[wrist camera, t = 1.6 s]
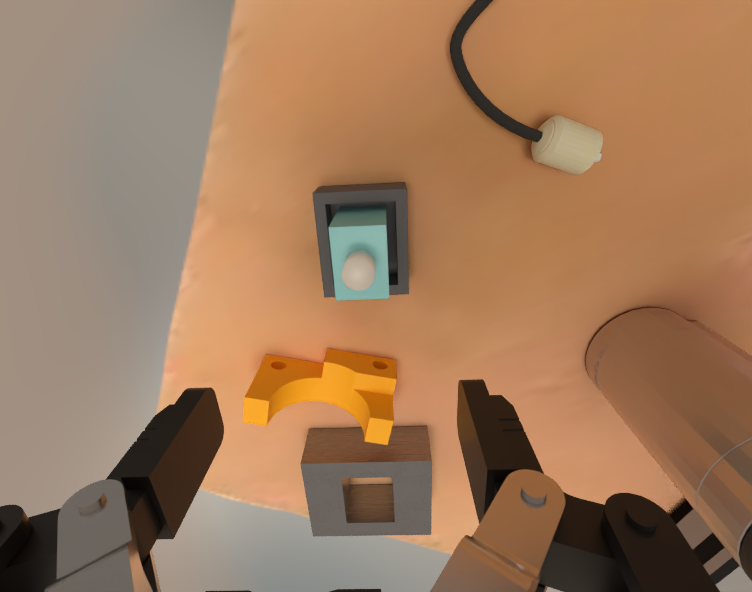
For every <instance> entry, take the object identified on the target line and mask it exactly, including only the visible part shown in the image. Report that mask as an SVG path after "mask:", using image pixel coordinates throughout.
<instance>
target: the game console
mask: <svg viewBox="0 0 752 592" xmlns="http://www.w3.org/2000/svg"><path fill="white" fill-rule="evenodd" d="M670 517H671V518H672V519H673V521H674V522H675V524H676V525H677V527H678V528H679V530H680V531H681V533H682V534H683V536H684V537H685V539H686V540H687V542H688V543H689V545H690V546H691V548H692V550H693V551H694V553H695V554H696V556H697V557H698V559H699V560H700V562H701V563H702V565H703V566H704V568H705V569H706V571H707V572H708V574H709V575H710V577H711V578H712V580H713V582H714V583H715V585H716V586H717V588H718V589H719V591H720V592H752V581H751V580H750V578H749V577H748V576H747V575H746V573H745V572H744V571H743V569H742V568H741V567H740V566H739V564H738V563H737V562H736V561H735V559H734V558H733V557H732V556H731V554H730V553H729V552H728V551H727V549H726V548H725V547H724V546H723V544H722V543H721V542H720V541H719V539H718V538H717V537H716V536H715V534H714V533H713V532H712V531H711V529H710V528H709V527H708V526H707V524H706V523H705V522H704V521H703V520H702V518H701V517H700V516H699V515H698V513H697V512H696V511H695V510H694V508H693V507H692V506H691V505H690V503H689V502H688V501H687V500H686V501H685V502H684V503H683V504H682V505H681V506H680V507H679V508H678V509H677V510H676V511H675V512H674V513H672V514H671V515H670Z"/></svg>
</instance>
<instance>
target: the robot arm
mask: <svg viewBox="0 0 752 592" xmlns="http://www.w3.org/2000/svg"><path fill="white" fill-rule="evenodd" d="M586 368H587V373H588V375H589V376H590V378H591V380H592V381H593V383H594V384H595V385H596V386H597V388H598V389H599V390H600V391H601V393H602V394H603V395H604V396H605V398H606V399H607V400H608V401H609V403H610V404H611V405H612V407H613V408H614V409H615V410H616V412H617V413H618V414H619V415H620V417H621V418H622V419H623V420H624V422H625V423H626V424H627V425H628V427H629V428H630V429H631V430H632V432H633V433H634V434H635V436H636V437H637V438H638V439H639V441H640V442H641V443H642V444H643V446H644V447H645V448H646V449H647V451H648V452H649V453H650V454H651V456H652V457H653V458H654V459H655V461H656V462H657V463H658V464H659V466H660V467H661V468H662V469H663V471H664V472H665V473H666V474H667V476H668V477H669V478H670V479H671V481H672V482H673V483H674V484H675V486H676V487H677V488H678V489H679V491H680V492H681V493H682V494H683V496H684V497H685V498H686V499H687V501H688V502H689V503H690V505H691V506H692V507H693V508H694V510H695V511H696V512H697V513H698V515H699V516H700V517H701V518H702V520H703V521H704V522H705V523H706V524H707V526H708V527H709V528H710V529H711V531H712V532H713V533H714V534H715V536H716V537H717V538H718V539H719V541H720V542H721V543H722V544H723V546H724V547H725V548H726V549H727V551H728V552H729V553H730V554H731V556H732V557H733V558H734V559H735V561H736V562H737V563H738V564H739V566H740V567H741V568H742V569H743V571H744V572H745V573H746V575H747V576H748V577H749V578H750V580H751V581H752V356H751V355H750V354H748V353H746V352H745V351H743V350H742V349H740V348H739V347H737V346H736V345H734V344H732V343H731V342H729V341H728V340H726V339H725V338H723V337H722V336H720V335H718V334H717V333H715V332H714V331H712V330H711V329H709V328H707V327H706V326H704V325H703V324H701V323H700V322H698V321H687V320H685V319H684V318H682V317H681V316H679V315H678V314H676V313H674V312H672V311H669V310H667V309H661V308H642V309H637V310H633V311H630V312H627V313H625V314H622V315H620V316H618V317H617V318H615V319H613V320H612V321H610V322H609V323H608V324H606V325H605V326H604V327H603V328H602V329H601V330H600V331H599V332H598V333H597V334H596V336H595V337H594V338H593V340H592V342H591V344H590V345H589V348H588V351H587V354H586ZM457 427H458V435H459V440H460V444H461V449H462V453H463V457H464V461H465V465H466V470H467V474H468V478H469V482H470V487H471V491H472V495H473V499H474V503H475V508H476V512H477V516H478V520H479V526H478V528H477V529H476V531H475V533H474V534H473V536H472V537H470V536H468V535H466V536H465V537H463V539H462V540H461V541H460V543H459V544H458V546H457V547H456V549H455V551H454V552H453V554H452V556H451V557H450V559H449V561H448V562H447V564H446V566H445V568H444V569H443V571H442V573H441V574H440V576H439V578H438V579H437V581H436V583H435V585H434V586H433V588H432V589H431V591H430V592H546V590H547V587H551V588H554V589H557V590H560V591H563V592H720V591H719V589H718V588H717V586H716V585H715V583H714V582H713V580H712V578H711V577H710V575H709V574H708V572H707V571H706V569H705V568H704V566H703V565H702V563H701V562H700V560H699V559H698V557H697V556H696V554H695V553H694V551H693V550H692V548H691V546H690V545H689V543H688V542H687V540H686V539H685V537H684V536H683V534H682V533H681V531H680V530H679V528H678V527H677V525H676V524H675V522H674V521H673V519H672V518H671V517H670V515H669V514H668V513H667V512H666V511H665V510H663V509H662V508H661V507H660V506H658V505H657V504H655V503H654V502H652V501H650V500H648V499H646V498H644V497H642V496H639V495H635V494H631V493H618V494H614V495H612V496H611V497H609V498H608V499H607V501H606V503H605V505H603V504H599V503H595V502H591V501H587V500H583V499H579V498H576V497H573V496H571V495H568V494H566V493H564V492H563V491H562V489H561V488H560V486H559V485H558V484H557V483H556V482H555V481H554V480H553V479H551V478H550V477H548V476H547V475H545V474H544V473H543V471H542V469H541V466H540V464H539V462H538V460H537V458H536V455H535V453H534V451H533V449H532V446H531V444H530V442H529V440H528V438H527V435H526V433H525V432H524V429H523V427H522V424H521V422H520V421H519V418H518V416H517V413H516V411H515V409H514V407H513V405H512V404H510V403H509V402H508V401H507V400H506V399H505V398H504V397H503V396H502V395H489V393H488V390H487V388H486V385H485V382H484V380H482V379H481V380H459V385H458V408H457ZM223 434H224V425H223V421H222V417H221V413H220V410H219V406H218V402H217V399H216V395H215V392H214V390H213V389H212V388H188V389H186V390H185V391H184V392H183V393H182V395H181V396H180V397H179V399H178V400H177V402H176V403H175V404H174V405H169V406H167V407H166V408H165V409H163V410H162V411H161V412H159V413H158V414H157V415H155V417H154V418H153V419H152V420H151V422H150V423H149V424H148V425H147V427H146V428H145V431H143V432H142V433H141V435H140V436H139V437H138V438H137V442H134V444H133V445H132V446H131V447H130V449H129V450H128V451H127V453H126V454H125V455H124V457H123V458H122V459H121V460H120V462H119V463H118V464H117V466H116V467H115V468H114V469H113V471H112V472H111V473H110V475H109V476H108V477H107V479H106V480H101V481H98V482H95V483H92V484H90V485H88V486H86V487H84V488H83V489H81V490H79V491H78V492H76V493H75V494H74V495H73V496H71V497H70V498H69V499H68V500H67V501H66V502H65V504H64V505H63V506H62V508H61V509H57V510H54V511H50V512H47V513H43V514H40V515H36V516H32V517H29V518H28V517H27V516H26V514H25V512H24V511H23V509H22V508H21V507H19V506H17V505H5V506H1V507H0V592H161V590H160V585H159V580H158V575H157V571H156V566H155V561H154V556H153V554H152V551H151V549H152V547H153V545H154V543H155V541H156V539H173V538H174V537H175V535H176V533H177V531H178V529H179V527H180V525H181V523H182V521H183V519H184V517H185V515H186V513H187V511H188V509H189V507H190V505H191V503H192V501H193V499H194V497H195V495H196V493H197V491H198V489H199V487H200V485H201V483H202V481H203V479H204V477H205V475H206V473H207V471H208V469H209V467H210V465H211V463H212V461H213V459H214V457H215V455H216V453H217V451H218V449H219V447H220V445H221V443H222V440H223ZM206 592H251V591H206ZM331 592H381V589H341V590H340V589H339V590H334V591H331Z"/></svg>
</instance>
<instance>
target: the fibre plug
mask: <svg viewBox="0 0 752 592" xmlns="http://www.w3.org/2000/svg"><path fill="white" fill-rule="evenodd" d="M328 228H329V238H330V248H331V257H332V267H333V277H334V287H335V296H336V301H337V300H362V299H388V298H389V266H388V241H387V217H386V204H385V205H365V206H344V207H339V208H338V210H337V212H336V214H335V216H334V218H333V220H332V222H331V224H330V226H329V227H328Z"/></svg>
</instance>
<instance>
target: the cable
mask: <svg viewBox="0 0 752 592" xmlns="http://www.w3.org/2000/svg"><path fill="white" fill-rule="evenodd" d="M492 1H493V0H476V1H475V2H474V3H473V4H472V5H471V7H470V8H469V9H468V10H467V11H466V13H465V14H464V15H463V17H462V18H461V20H460V21H459V23H458V24H457V26H456V28H455V30H454V33H453V35H452V39H451V43H450V53H451V59H452V62H453V66H454V69H455V71H456V74H457V76H458V78H459V80H460V82H461V84H462V86H463V87H464V89H465V90H466V92H467V93H468V95H469V96H470V97H471V99H472V100H473V101H474V102H475V104H476V105H477V106H478V107H479V108H480V109H481V110H482V111H483V112H484V113H485V114H486V115H487V116H489V117H490V118H491V119H492V120H494V121H495V122H496V123H498V124H499V125H501V126H502V127H504V128H506V129H507V130H509V131H510V132H513V133H515V134H517V135H519V136H521V137H523V138H525V139H528V140H531V141H532V145H531V152H532V157H533V159H534V161H536V162H539V163H542V164H544V165H547V166H550V167H553V168H556V169H559V170H561V171H564V172H567V173H570V174H573V175H579V174H582V173H584V172H585V171H586V170H588V169H589V168H590V167H591V166H592V164H593V163H594V162H595V161H596V162H599V161H600V159H601V157H602V154H600V151H601V148H602V144H603V136H602V133H601V132H600V131H599V130H597V129H594V128H591V127H589V126H586V125H584V124H581V123H579V122H576V121H573V120H571V119H568V118H566V117H563V116H561V115H554V116H552V117H551V118H549V119H548V120H547V121H545V122H544V123H543V124H542V125H541V126H540V127H539V128H538V130H536V129H533V128H530V127H528V126H526V125H524V124H522V123H520V122H517V121H516V120H514V119H512V118H511V117H509V116H508V115H506V114H504V113H503V112H502V111H501V110H499V109H498V108H497V107H496V106H494V105H493V104H492V103H491V102H490V101H489V100H488V99H487V98H486V97H485V96H484V94H483V93H482V92H481V91H480V89H479V88H478V87H477V85H476V84H475V82H474V81H473V79H472V77H471V75H470V73H469V72H468V70H467V67H466V65H465V62H464V59H463V55H462V49H461V44H462V40H463V38H464V35H465V33H466V32H467V30H468V28H469V27H470V25H471V24H472V23H473V22H474V20H475V19H476V18H477V17H478V16H479V15H480V13H481V12H482V11H483V10H484V9H485V8H486V7H487V6H488V5H489V4H490V3H491V2H492Z"/></svg>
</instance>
